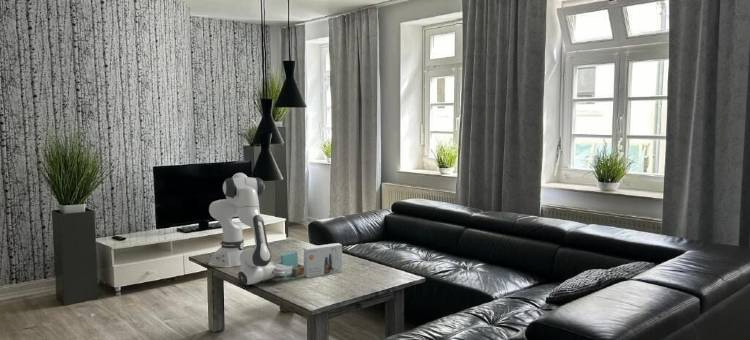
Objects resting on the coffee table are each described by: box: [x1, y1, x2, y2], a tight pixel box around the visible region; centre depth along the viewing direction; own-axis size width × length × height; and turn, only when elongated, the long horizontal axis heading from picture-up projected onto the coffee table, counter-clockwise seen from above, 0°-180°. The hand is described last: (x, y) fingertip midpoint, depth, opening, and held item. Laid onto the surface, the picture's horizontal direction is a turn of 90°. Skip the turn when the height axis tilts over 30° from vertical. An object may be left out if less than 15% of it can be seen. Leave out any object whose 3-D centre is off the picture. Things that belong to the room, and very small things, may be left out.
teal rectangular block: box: [279, 251, 299, 278], centre depth 317 cm, size 10×2×12 cm, turn 140°
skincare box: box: [302, 242, 343, 279], centre depth 317 cm, size 21×5×16 cm, turn 117°
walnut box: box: [292, 263, 304, 277], centre depth 321 cm, size 8×11×4 cm
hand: (286, 265), depth 316 cm, fingers open, 8 cm apart
